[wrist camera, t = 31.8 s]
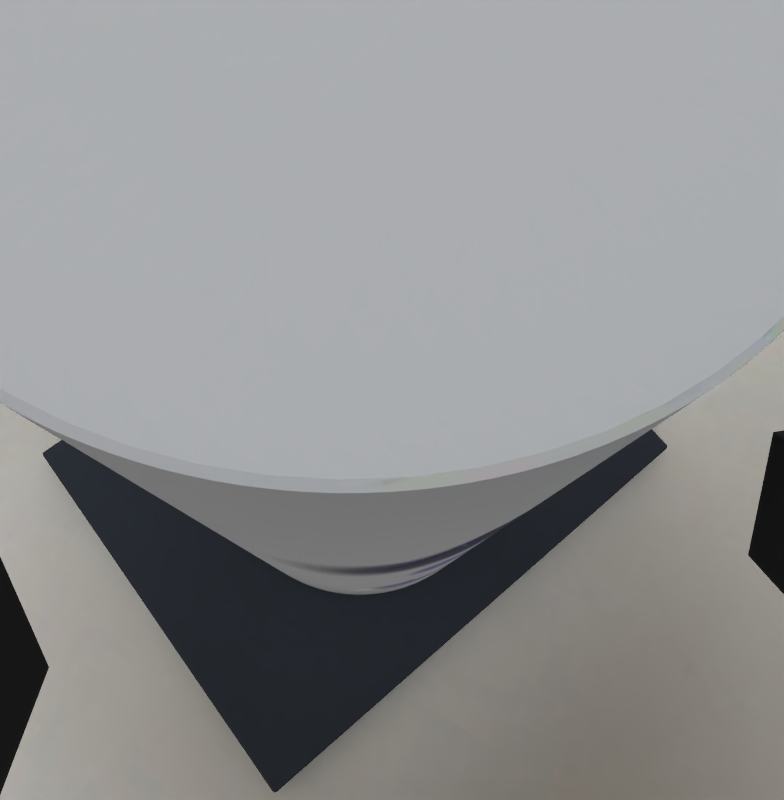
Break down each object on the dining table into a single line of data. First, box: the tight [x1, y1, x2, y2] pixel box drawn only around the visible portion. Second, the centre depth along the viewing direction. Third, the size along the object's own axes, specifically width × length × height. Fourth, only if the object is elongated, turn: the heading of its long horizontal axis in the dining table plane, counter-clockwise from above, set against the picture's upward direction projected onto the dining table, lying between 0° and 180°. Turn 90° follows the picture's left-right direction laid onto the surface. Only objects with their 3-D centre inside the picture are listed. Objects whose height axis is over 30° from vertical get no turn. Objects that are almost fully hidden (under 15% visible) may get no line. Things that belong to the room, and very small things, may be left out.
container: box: [0, 0, 784, 595], centre depth 16 cm, size 10×10×20 cm
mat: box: [43, 429, 667, 792], centre depth 26 cm, size 18×14×1 cm
